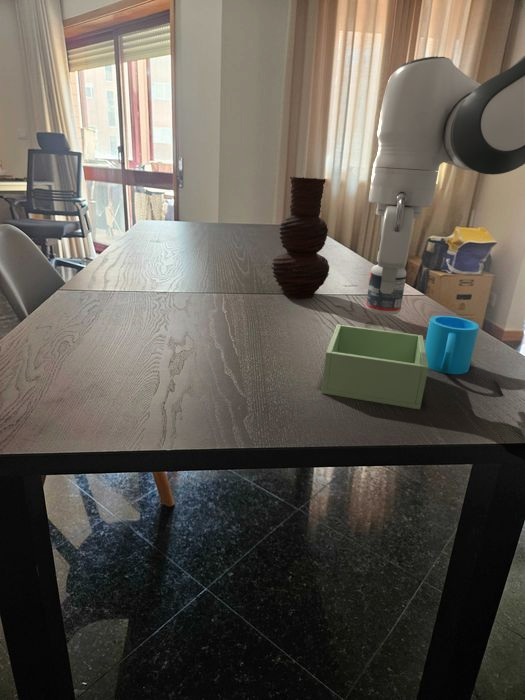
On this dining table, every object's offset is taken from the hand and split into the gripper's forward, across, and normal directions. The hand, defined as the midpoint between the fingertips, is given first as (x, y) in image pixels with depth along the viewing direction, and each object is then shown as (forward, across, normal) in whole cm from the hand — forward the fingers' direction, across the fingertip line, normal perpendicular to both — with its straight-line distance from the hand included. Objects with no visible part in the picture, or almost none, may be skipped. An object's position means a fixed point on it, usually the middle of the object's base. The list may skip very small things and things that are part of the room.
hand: (386, 287), depth 71 cm
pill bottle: (+4, 0, 0) cm, 4 cm away
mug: (+16, +11, -12) cm, 23 cm away
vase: (+16, +50, +22) cm, 57 cm away
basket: (+16, 0, 0) cm, 16 cm away
